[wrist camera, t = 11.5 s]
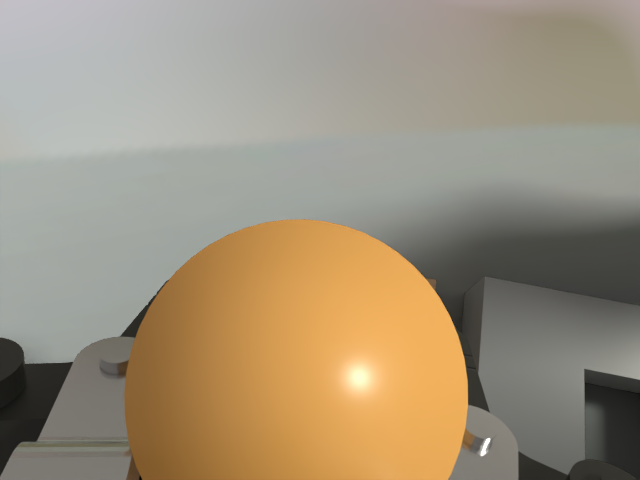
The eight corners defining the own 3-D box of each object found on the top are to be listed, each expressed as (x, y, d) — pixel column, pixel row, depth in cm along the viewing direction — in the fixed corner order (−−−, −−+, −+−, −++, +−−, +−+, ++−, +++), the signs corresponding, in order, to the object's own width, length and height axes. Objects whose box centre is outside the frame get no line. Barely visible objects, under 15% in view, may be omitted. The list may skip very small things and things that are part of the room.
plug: (382, 345, 17) (513, 217, 7) (364, 507, 15) (507, 678, 5) (239, 321, 17) (150, 158, 7) (205, 480, 15) (8, 589, 5)
